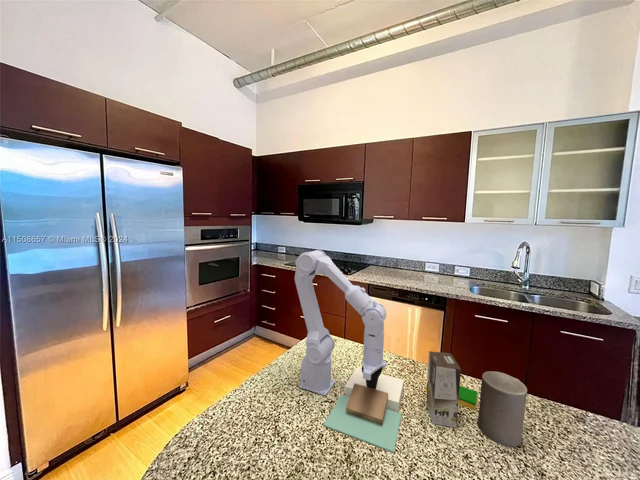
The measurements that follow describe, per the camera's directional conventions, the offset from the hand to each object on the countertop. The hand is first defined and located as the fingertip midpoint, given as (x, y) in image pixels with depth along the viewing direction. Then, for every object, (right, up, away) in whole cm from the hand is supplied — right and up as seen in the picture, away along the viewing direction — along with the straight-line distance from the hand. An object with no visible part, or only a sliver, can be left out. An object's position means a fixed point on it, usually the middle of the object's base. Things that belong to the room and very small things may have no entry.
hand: (371, 390), depth 79 cm
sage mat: (-4, -4, -7) cm, 9 cm away
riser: (+2, -3, +5) cm, 6 cm away
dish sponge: (+26, -5, +5) cm, 27 cm away
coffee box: (+19, -5, -4) cm, 20 cm away
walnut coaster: (-2, -2, -4) cm, 5 cm away
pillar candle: (+32, -6, -10) cm, 33 cm away
